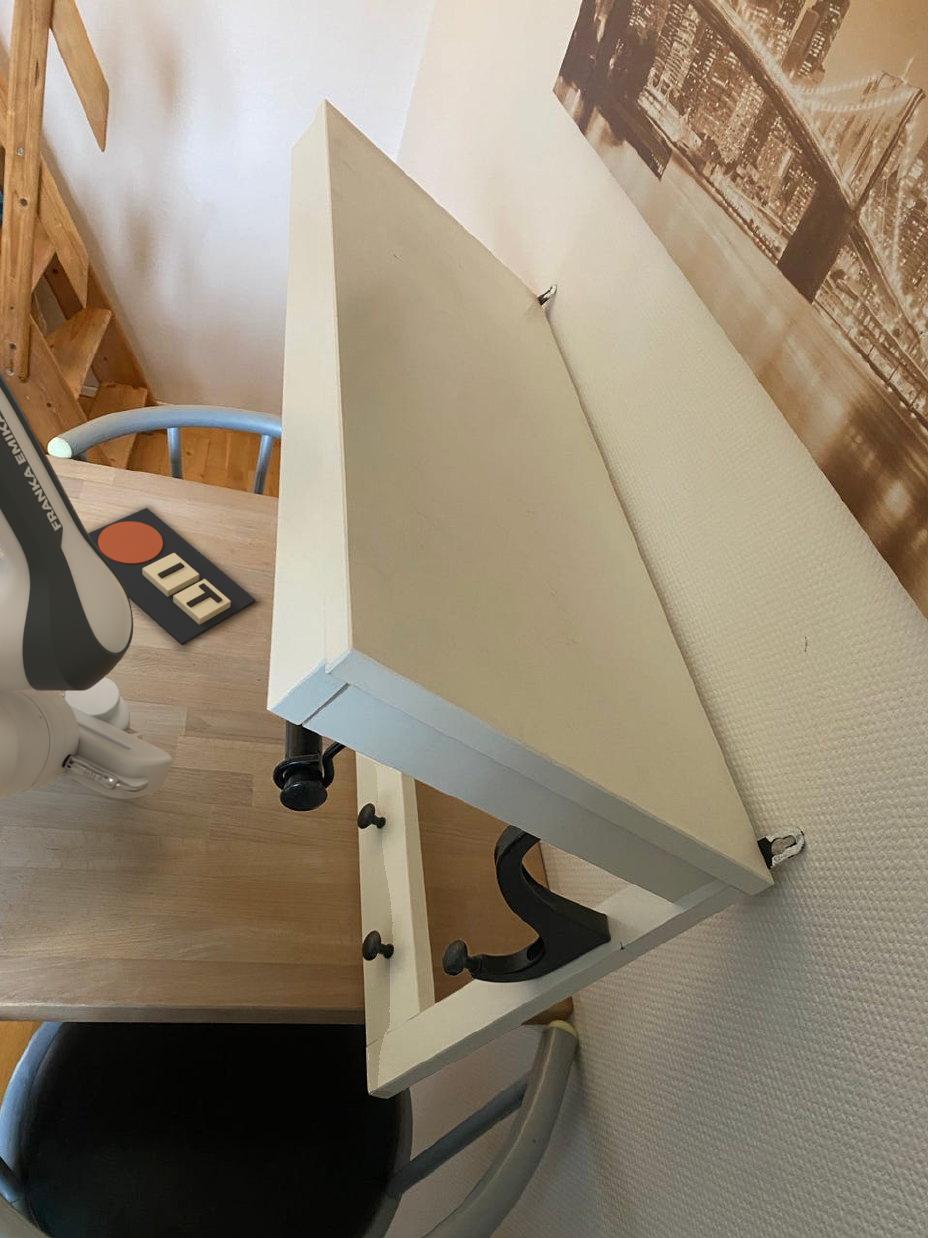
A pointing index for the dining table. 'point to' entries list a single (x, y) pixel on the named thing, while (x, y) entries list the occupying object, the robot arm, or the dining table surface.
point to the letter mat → (169, 576)
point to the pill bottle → (101, 704)
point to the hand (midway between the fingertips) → (97, 721)
